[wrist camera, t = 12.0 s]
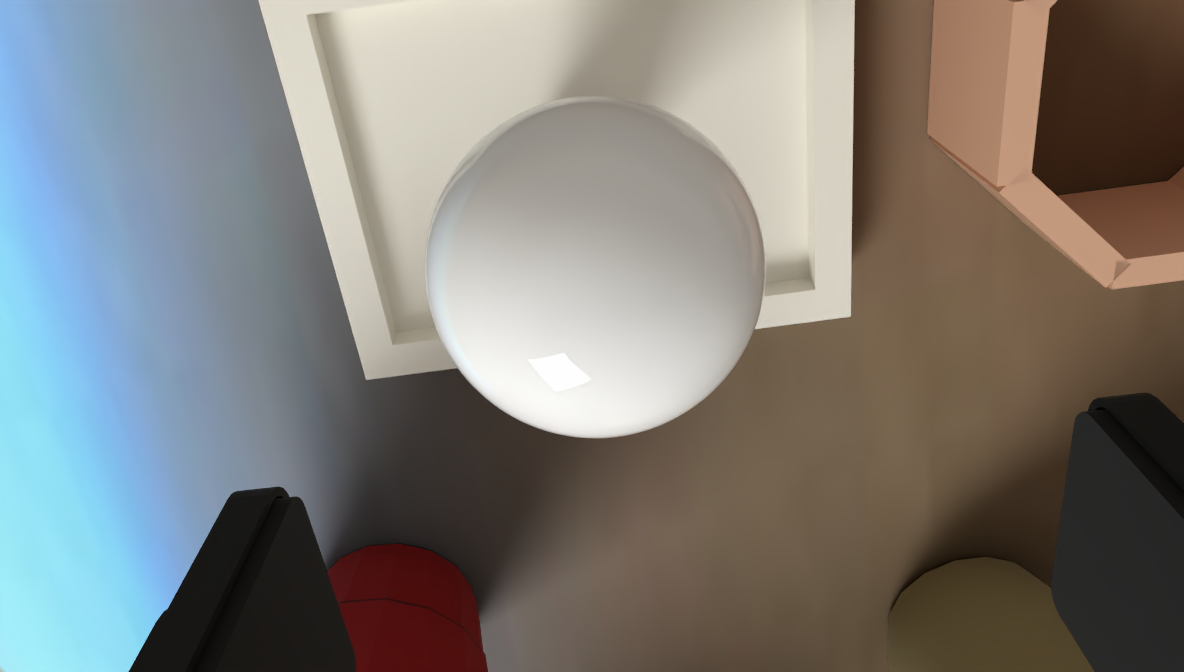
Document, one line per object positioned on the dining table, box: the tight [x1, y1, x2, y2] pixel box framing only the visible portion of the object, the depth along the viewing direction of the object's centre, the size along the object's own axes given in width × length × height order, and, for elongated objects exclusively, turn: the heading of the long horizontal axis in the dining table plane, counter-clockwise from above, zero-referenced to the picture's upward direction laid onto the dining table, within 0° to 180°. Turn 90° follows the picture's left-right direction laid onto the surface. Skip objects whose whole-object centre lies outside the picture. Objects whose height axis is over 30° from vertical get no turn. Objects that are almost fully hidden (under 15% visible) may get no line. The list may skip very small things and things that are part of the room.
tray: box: [259, 0, 855, 380], centre depth 25 cm, size 14×11×2 cm
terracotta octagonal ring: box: [927, 0, 1184, 289], centre depth 23 cm, size 11×11×4 cm
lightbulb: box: [425, 95, 766, 438], centre depth 19 cm, size 6×6×11 cm
